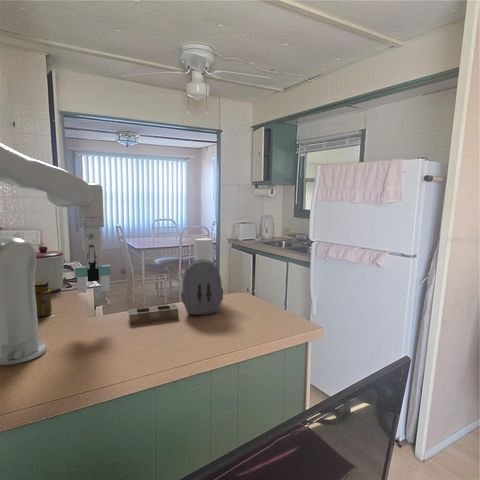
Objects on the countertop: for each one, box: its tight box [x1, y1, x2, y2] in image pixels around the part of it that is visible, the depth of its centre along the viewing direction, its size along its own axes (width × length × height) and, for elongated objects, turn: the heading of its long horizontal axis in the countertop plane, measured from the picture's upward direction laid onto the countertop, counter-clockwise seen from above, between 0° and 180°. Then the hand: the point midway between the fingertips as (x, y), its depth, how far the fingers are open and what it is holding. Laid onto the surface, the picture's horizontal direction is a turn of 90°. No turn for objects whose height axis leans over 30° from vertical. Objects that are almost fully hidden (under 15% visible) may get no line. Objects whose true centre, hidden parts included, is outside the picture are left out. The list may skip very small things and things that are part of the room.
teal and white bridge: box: [74, 264, 112, 294], centre depth 110 cm, size 3×10×8 cm, turn 111°
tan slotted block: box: [128, 303, 180, 326], centre depth 118 cm, size 6×16×4 cm, turn 111°
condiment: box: [35, 282, 57, 321], centre depth 122 cm, size 7×8×12 cm
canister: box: [34, 245, 66, 293], centre depth 159 cm, size 18×18×21 cm
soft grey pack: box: [180, 259, 224, 316], centre depth 121 cm, size 15×8×20 cm, turn 105°
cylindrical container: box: [194, 237, 214, 263], centre depth 141 cm, size 7×7×25 cm
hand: (93, 279), depth 110 cm, fingers closed on teal and white bridge, 3 cm apart
